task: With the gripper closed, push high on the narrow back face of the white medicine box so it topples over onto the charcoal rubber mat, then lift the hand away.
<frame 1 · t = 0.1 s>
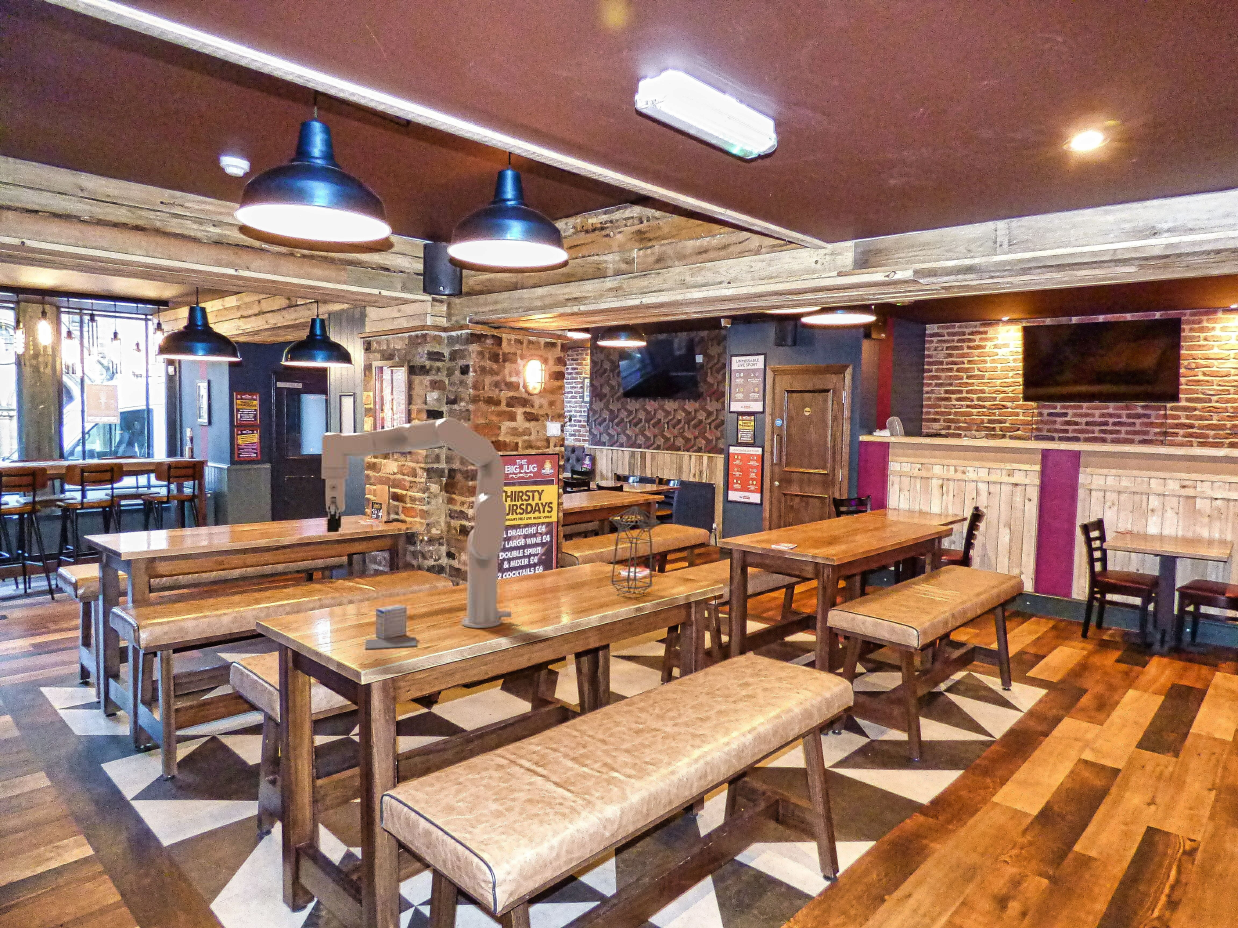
hand: (334, 529, 219), 31 cm above the table, tool pointing down, fingers open, 9 cm apart
medicine box: (391, 636, 217), on the table
geometric lantern: (632, 596, 282), on the table
charcoal mat: (391, 643, 209), on the table
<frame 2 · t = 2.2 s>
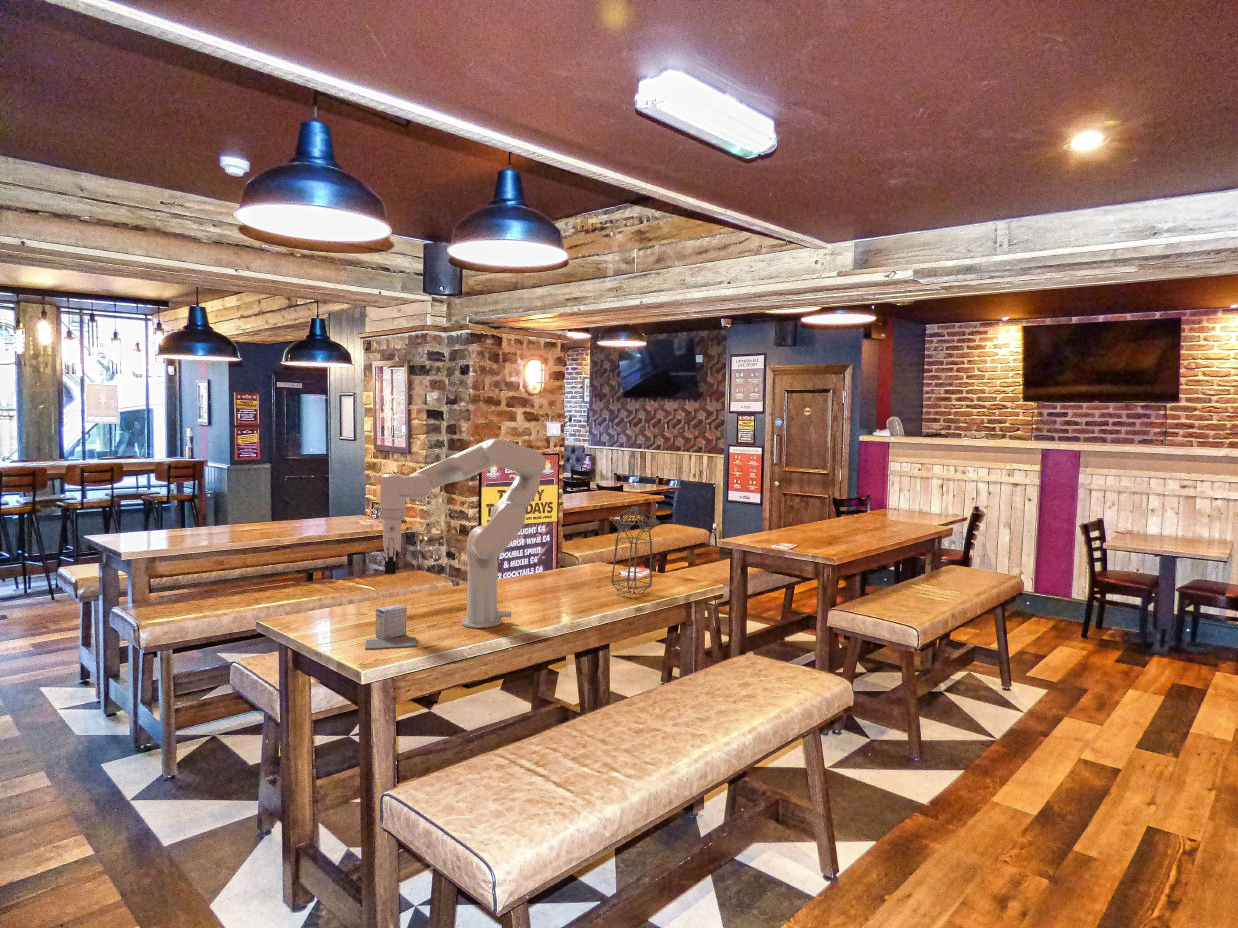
hand: (390, 573, 223), 18 cm above the table, tool pointing down, fingers closed
nothing on the table moved.
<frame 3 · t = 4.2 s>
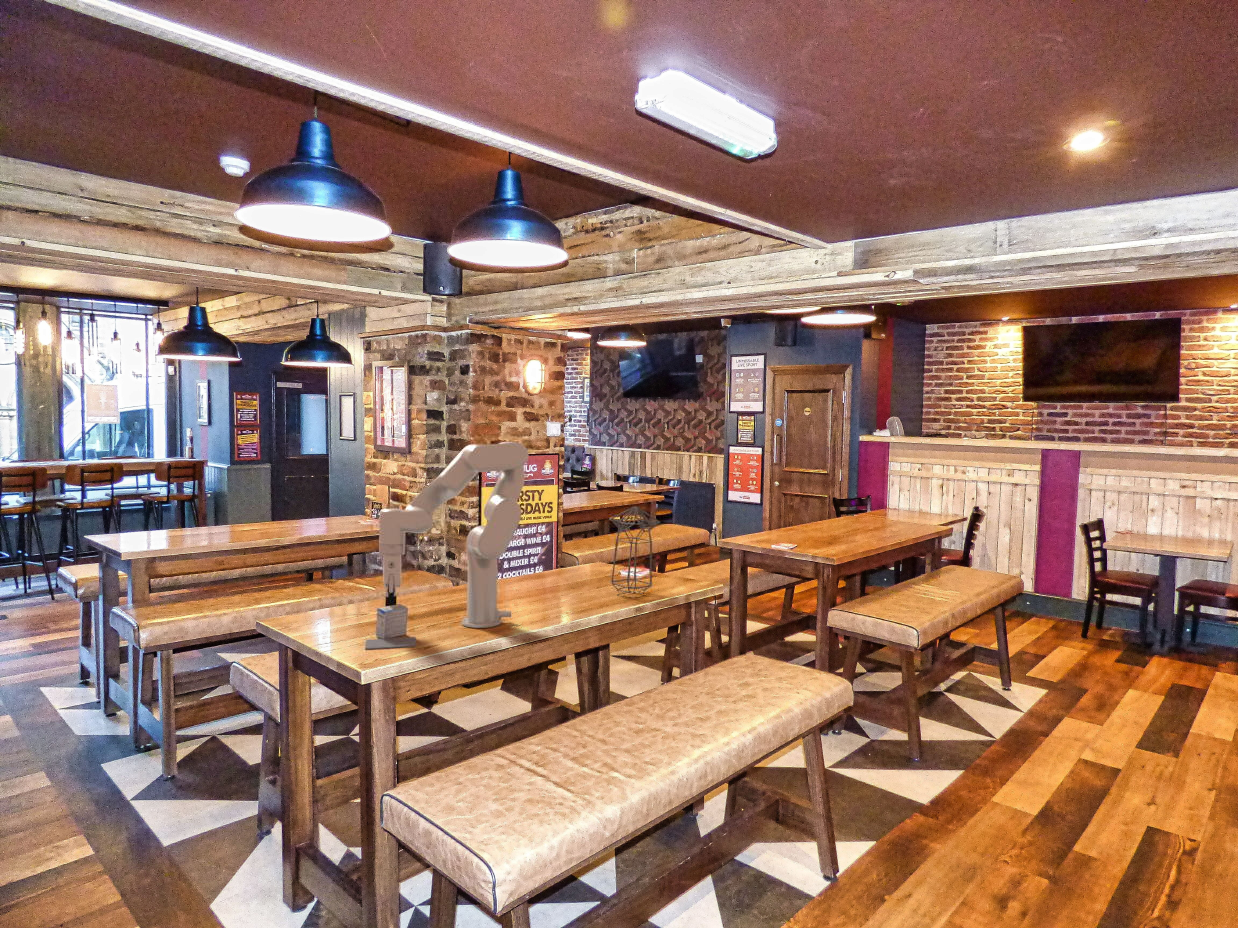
hand: (390, 609, 220), 7 cm above the table, tool pointing down, fingers closed
medicine box: (391, 636, 217), on the table, touching gripper
everything else where it was.
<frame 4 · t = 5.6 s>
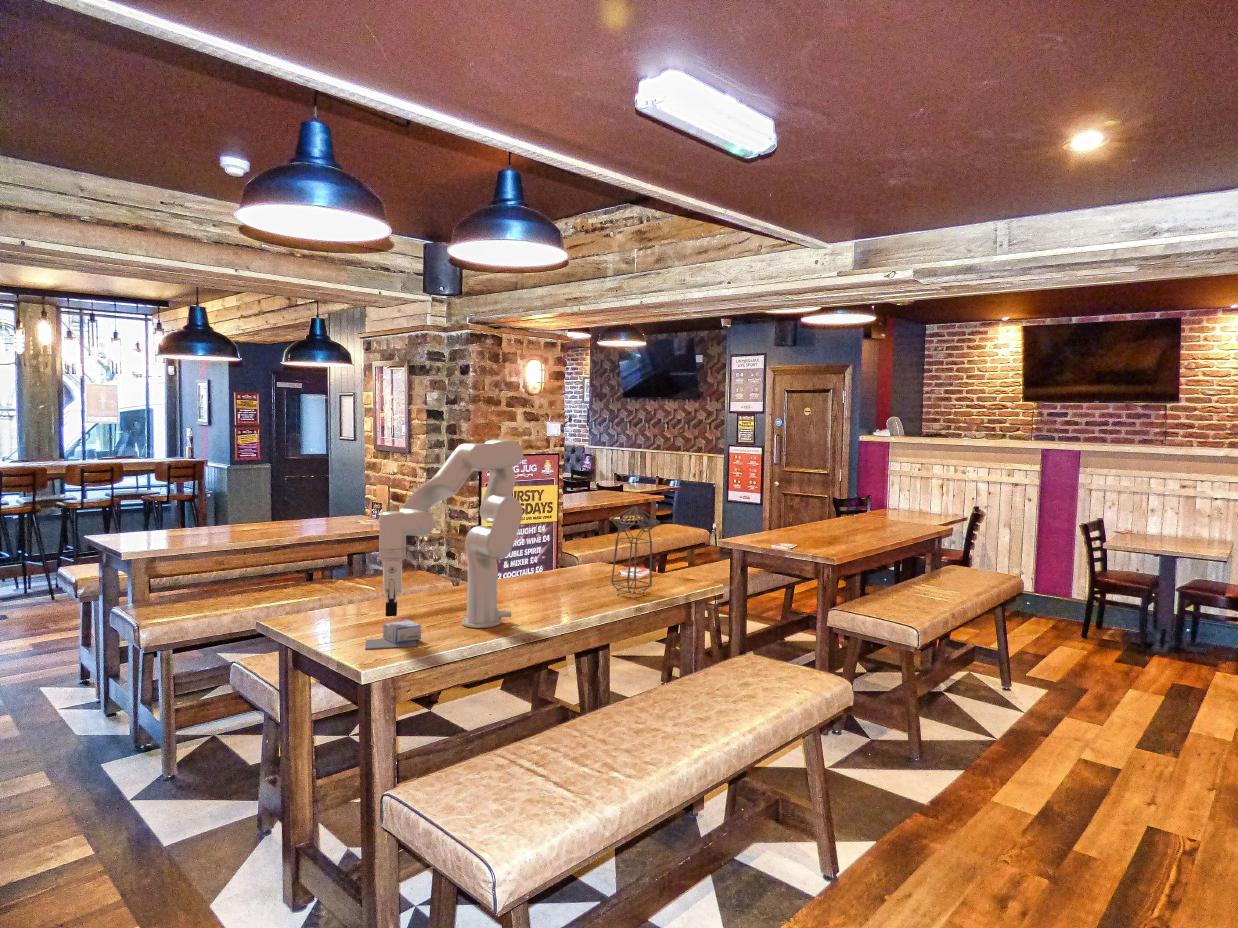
hand: (391, 615, 213), 7 cm above the table, tool pointing down, fingers closed
medicine box: (394, 628, 216), point 3 cm above the table, touching charcoal mat
everything else where it was.
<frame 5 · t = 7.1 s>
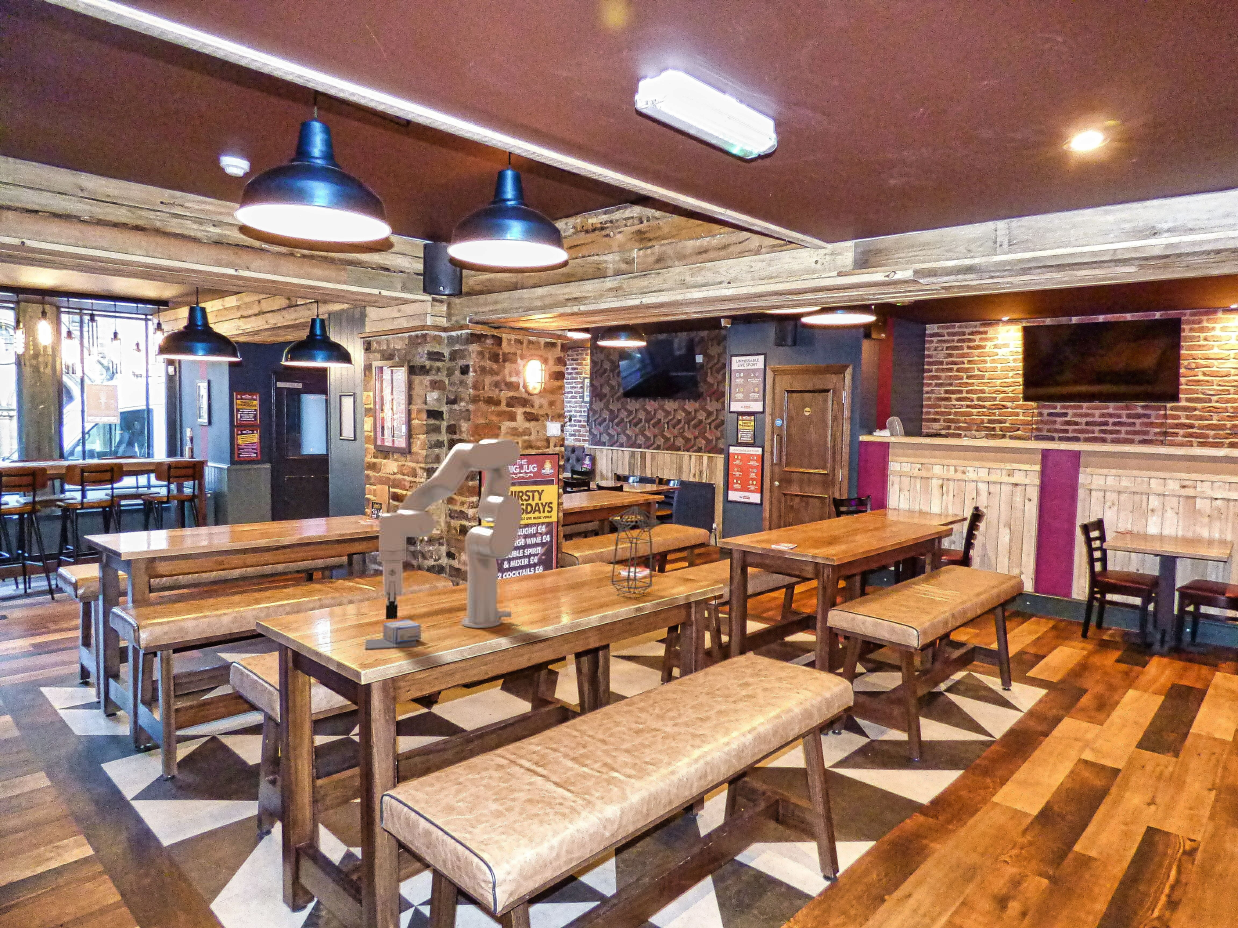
hand: (391, 618, 210), 7 cm above the table, tool pointing down, fingers closed
nothing on the table moved.
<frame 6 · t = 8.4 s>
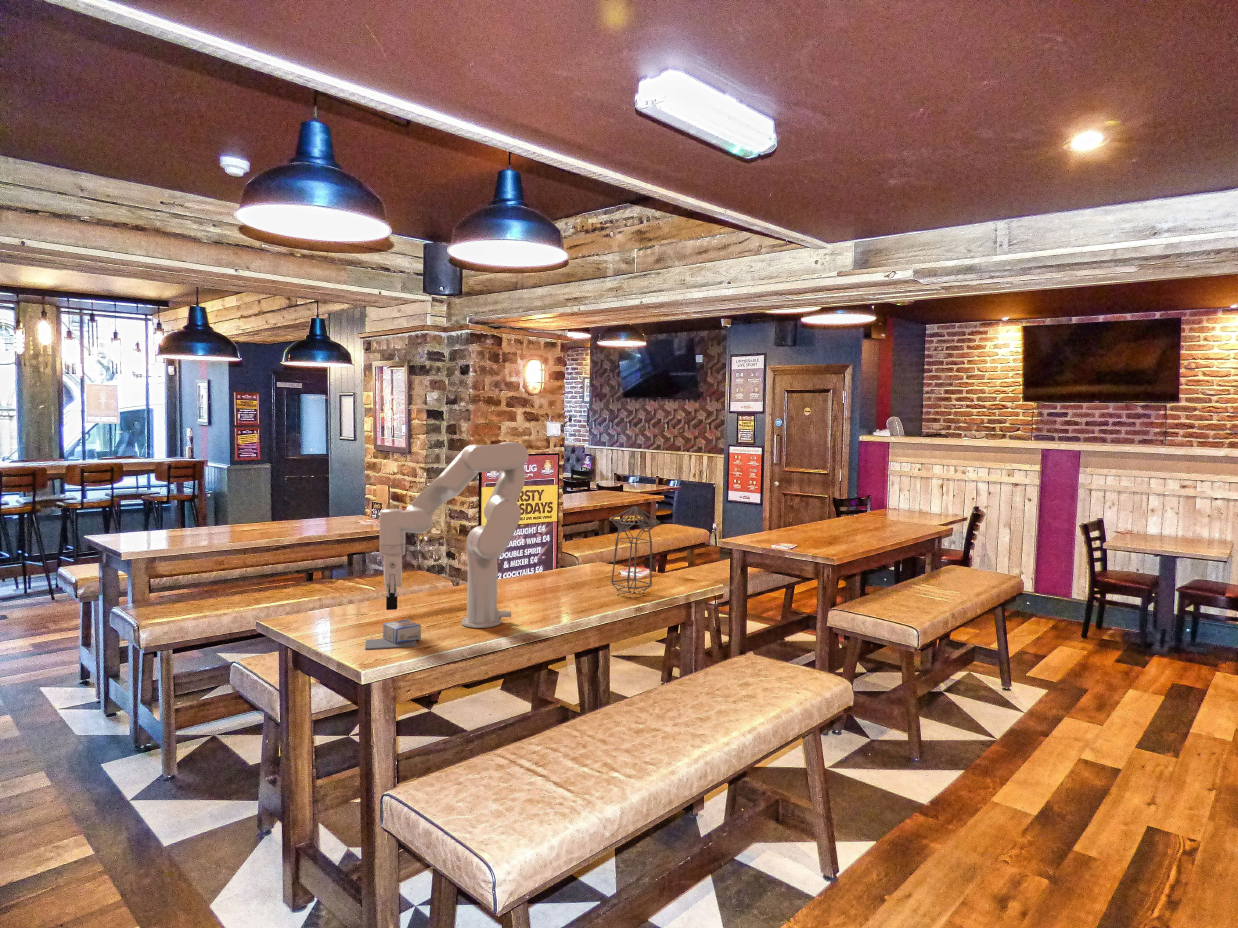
hand: (391, 608, 221), 7 cm above the table, tool pointing down, fingers closed
nothing on the table moved.
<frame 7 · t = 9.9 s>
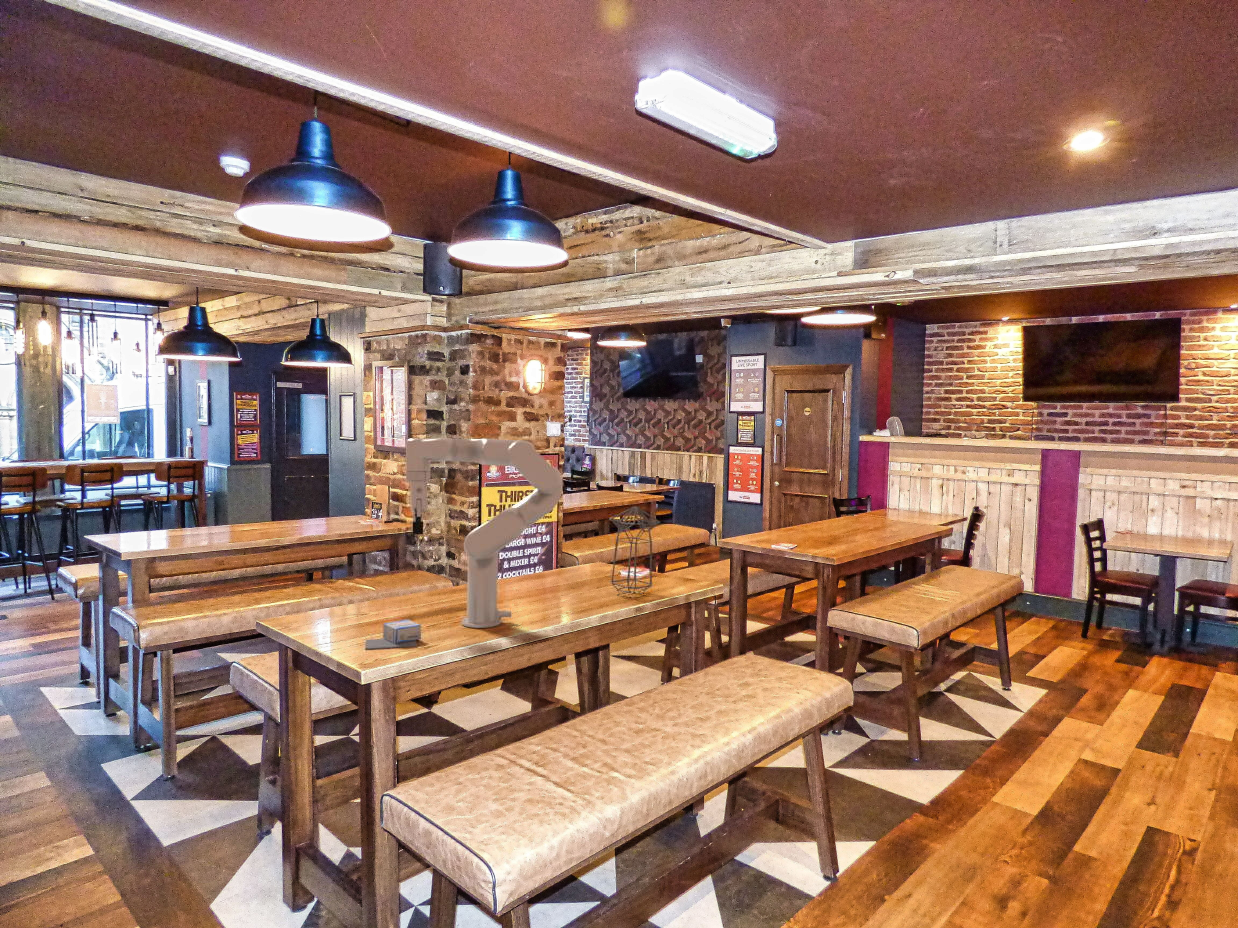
hand: (417, 533, 232), 29 cm above the table, tool pointing down, fingers closed
nothing on the table moved.
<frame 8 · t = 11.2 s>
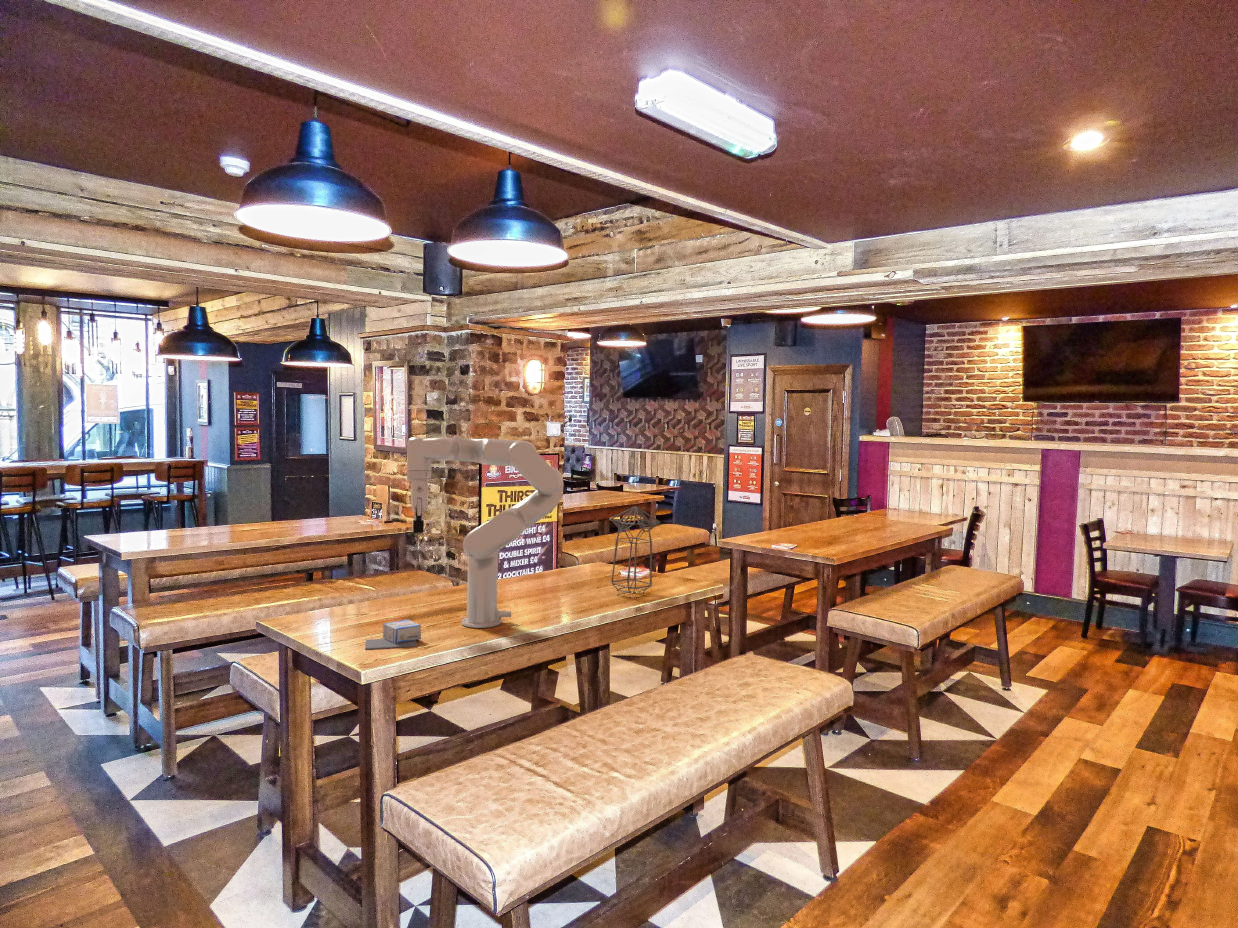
hand: (418, 532, 233), 29 cm above the table, tool pointing down, fingers closed
nothing on the table moved.
at the end: medicine box tilted 89°; medicine box touching charcoal mat; medicine box inside the target area (3.9 cm from its centre), point 2.5 cm above the table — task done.
